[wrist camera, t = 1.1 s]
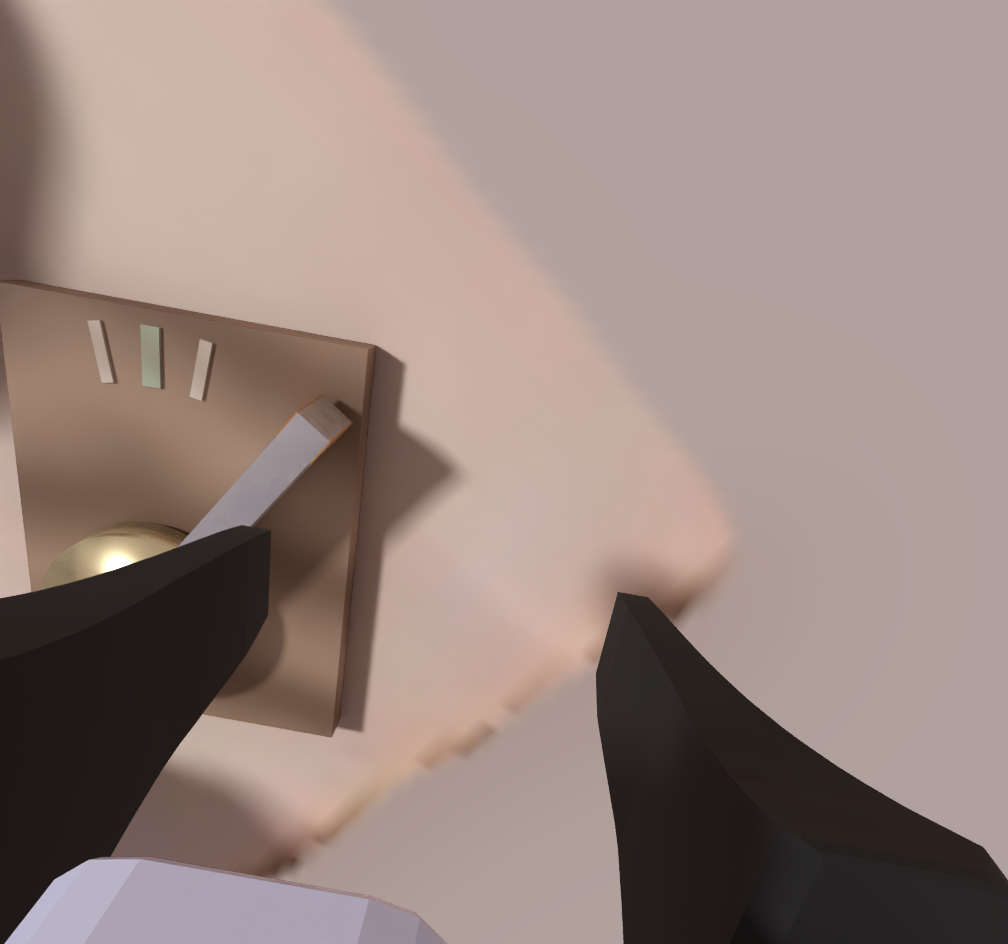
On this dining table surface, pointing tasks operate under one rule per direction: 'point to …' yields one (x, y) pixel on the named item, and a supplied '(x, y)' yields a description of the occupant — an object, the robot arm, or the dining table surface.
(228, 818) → the dining table surface
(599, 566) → the dining table surface
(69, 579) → the switch lever
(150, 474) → the lever switch plate
